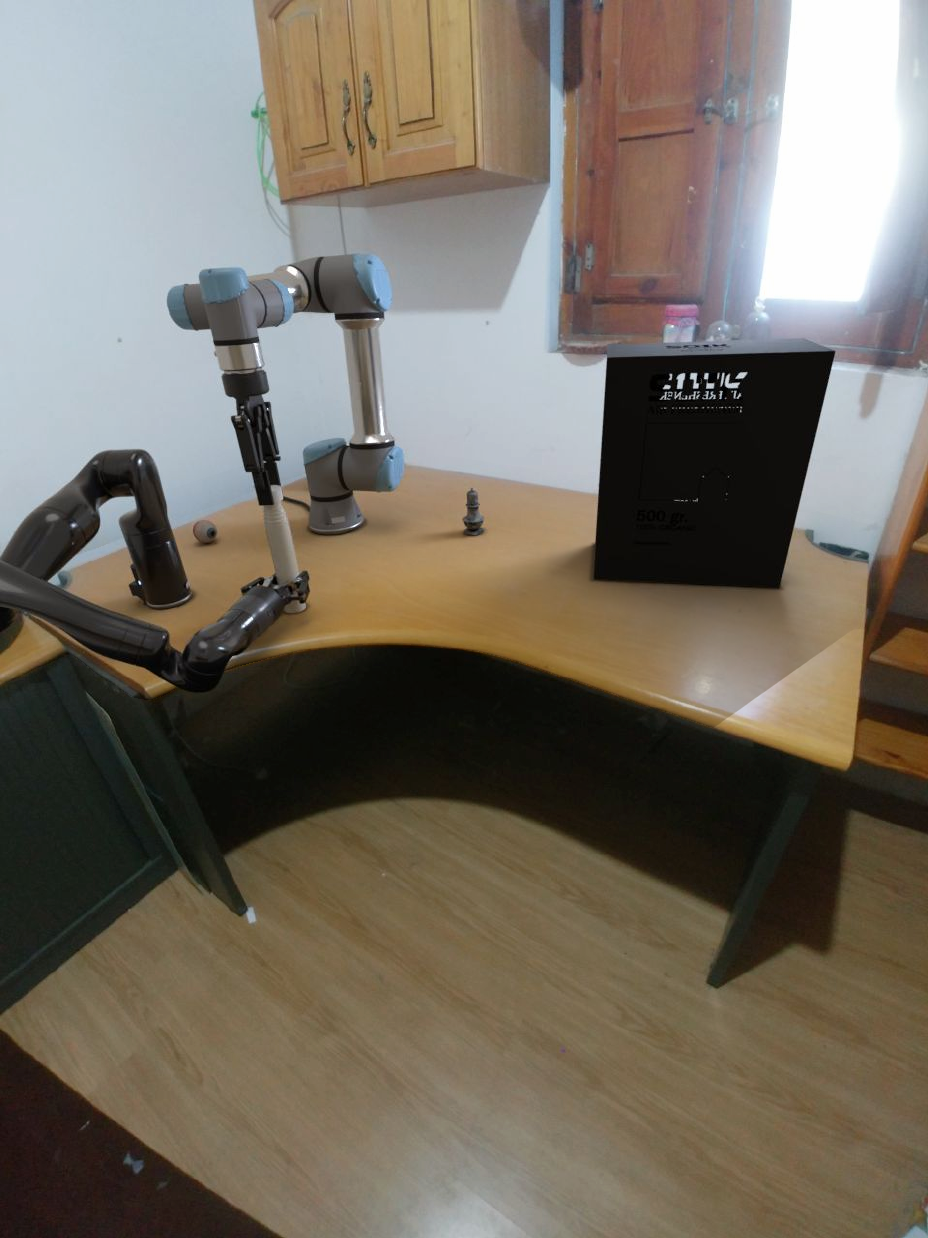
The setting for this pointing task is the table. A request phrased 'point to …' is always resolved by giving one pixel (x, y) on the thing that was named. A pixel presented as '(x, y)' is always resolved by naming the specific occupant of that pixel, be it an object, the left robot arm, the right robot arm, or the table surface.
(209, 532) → the eyeball
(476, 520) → the salt shaker
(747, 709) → the table surface
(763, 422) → the cardboard box
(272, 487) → the cap
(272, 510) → the bottle
